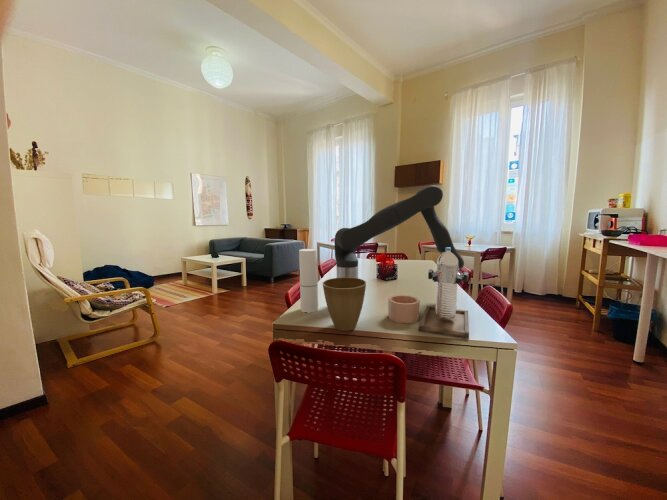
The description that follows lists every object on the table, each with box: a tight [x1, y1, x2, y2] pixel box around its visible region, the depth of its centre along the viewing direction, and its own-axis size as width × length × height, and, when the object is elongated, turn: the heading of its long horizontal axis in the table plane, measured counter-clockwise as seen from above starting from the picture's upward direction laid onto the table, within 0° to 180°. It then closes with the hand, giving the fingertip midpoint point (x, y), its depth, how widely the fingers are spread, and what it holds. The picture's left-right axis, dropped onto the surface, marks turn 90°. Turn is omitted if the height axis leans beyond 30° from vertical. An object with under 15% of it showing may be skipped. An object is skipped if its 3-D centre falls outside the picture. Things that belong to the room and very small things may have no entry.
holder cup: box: [387, 294, 421, 324], centre depth 103 cm, size 11×11×7 cm
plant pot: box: [322, 277, 367, 332], centre depth 94 cm, size 15×15×16 cm
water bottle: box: [435, 247, 458, 320], centre depth 96 cm, size 7×7×25 cm
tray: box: [418, 305, 470, 340], centre depth 98 cm, size 15×22×2 cm
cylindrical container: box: [298, 248, 319, 314], centre depth 111 cm, size 7×7×25 cm
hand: (446, 280), depth 94 cm, fingers closed on water bottle, 7 cm apart
